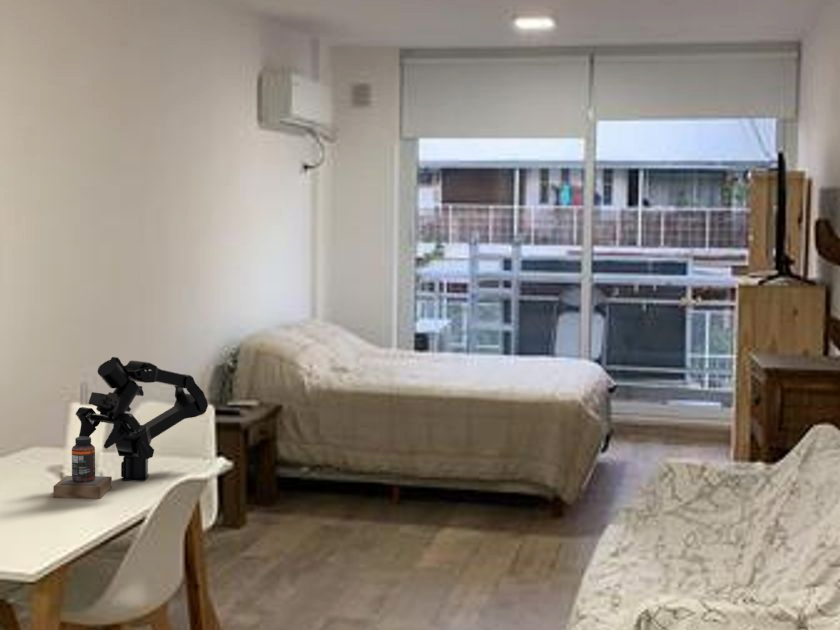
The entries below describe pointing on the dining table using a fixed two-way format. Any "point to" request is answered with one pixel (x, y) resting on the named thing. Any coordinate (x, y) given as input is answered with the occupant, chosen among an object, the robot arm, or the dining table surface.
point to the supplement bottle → (83, 460)
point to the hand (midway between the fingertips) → (91, 445)
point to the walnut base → (82, 488)
